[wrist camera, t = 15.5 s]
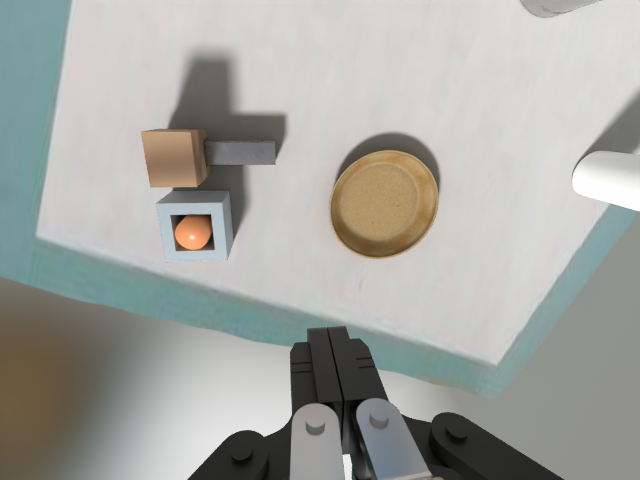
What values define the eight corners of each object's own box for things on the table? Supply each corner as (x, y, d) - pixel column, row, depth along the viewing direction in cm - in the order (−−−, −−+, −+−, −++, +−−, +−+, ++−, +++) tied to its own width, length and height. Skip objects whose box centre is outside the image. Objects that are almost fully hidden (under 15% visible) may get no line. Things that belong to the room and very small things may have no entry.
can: (560, 184, 47) (647, 206, 36) (590, 142, 45) (691, 152, 34) (591, 202, 49) (682, 228, 38) (621, 162, 47) (726, 177, 36)
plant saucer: (429, 138, 43) (438, 140, 40) (431, 241, 48) (439, 248, 46) (318, 158, 42) (321, 161, 40) (334, 260, 48) (337, 268, 45)
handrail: (164, 139, 39) (153, 142, 36) (275, 140, 40) (274, 143, 37) (167, 160, 40) (157, 164, 36) (275, 160, 41) (275, 164, 38)
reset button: (186, 205, 41) (172, 219, 36) (216, 204, 42) (206, 219, 36) (190, 232, 43) (177, 250, 37) (218, 231, 43) (210, 249, 38)
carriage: (166, 127, 37) (140, 131, 30) (206, 128, 38) (190, 132, 31) (172, 173, 39) (150, 187, 32) (211, 173, 39) (197, 187, 33)
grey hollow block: (172, 191, 41) (155, 203, 36) (229, 190, 42) (221, 202, 36) (179, 242, 44) (165, 261, 38) (233, 241, 44) (227, 259, 39)
